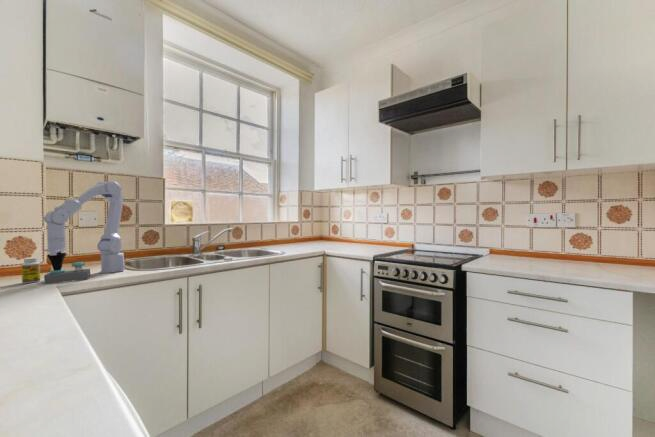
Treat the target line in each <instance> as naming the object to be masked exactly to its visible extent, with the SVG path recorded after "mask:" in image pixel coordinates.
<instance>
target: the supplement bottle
mask: <svg viewBox="0 0 655 437" xmlns="http://www.w3.org/2000/svg"><path fill="white" fill-rule="evenodd" d="M40 281H41V262H39V261H38V257H35V256H34V257H25V258H24V259H23V263H22V264H21V282H22V284H33V283H38V282H40Z"/></svg>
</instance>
